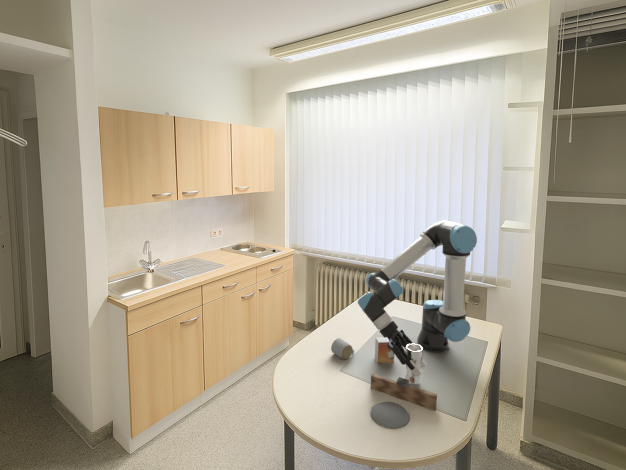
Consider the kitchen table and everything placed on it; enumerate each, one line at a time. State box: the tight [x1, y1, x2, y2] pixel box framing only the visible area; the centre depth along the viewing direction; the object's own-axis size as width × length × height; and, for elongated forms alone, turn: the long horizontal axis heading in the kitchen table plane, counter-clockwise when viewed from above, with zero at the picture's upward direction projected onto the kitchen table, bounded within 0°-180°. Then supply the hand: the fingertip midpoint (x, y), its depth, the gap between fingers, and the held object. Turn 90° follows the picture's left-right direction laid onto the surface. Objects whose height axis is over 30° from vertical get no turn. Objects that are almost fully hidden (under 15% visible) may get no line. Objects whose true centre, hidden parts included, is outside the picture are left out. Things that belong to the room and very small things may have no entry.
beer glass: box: [404, 343, 424, 385], centre depth 156 cm, size 7×7×15 cm
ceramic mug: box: [330, 337, 355, 360], centre depth 179 cm, size 11×8×8 cm
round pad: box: [370, 400, 410, 429], centre depth 138 cm, size 14×14×1 cm
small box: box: [374, 336, 395, 364], centre depth 174 cm, size 8×6×10 cm
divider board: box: [370, 373, 438, 412], centre depth 147 cm, size 26×2×8 cm, turn 59°
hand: (421, 370), depth 154 cm, fingers closed on beer glass, 6 cm apart
